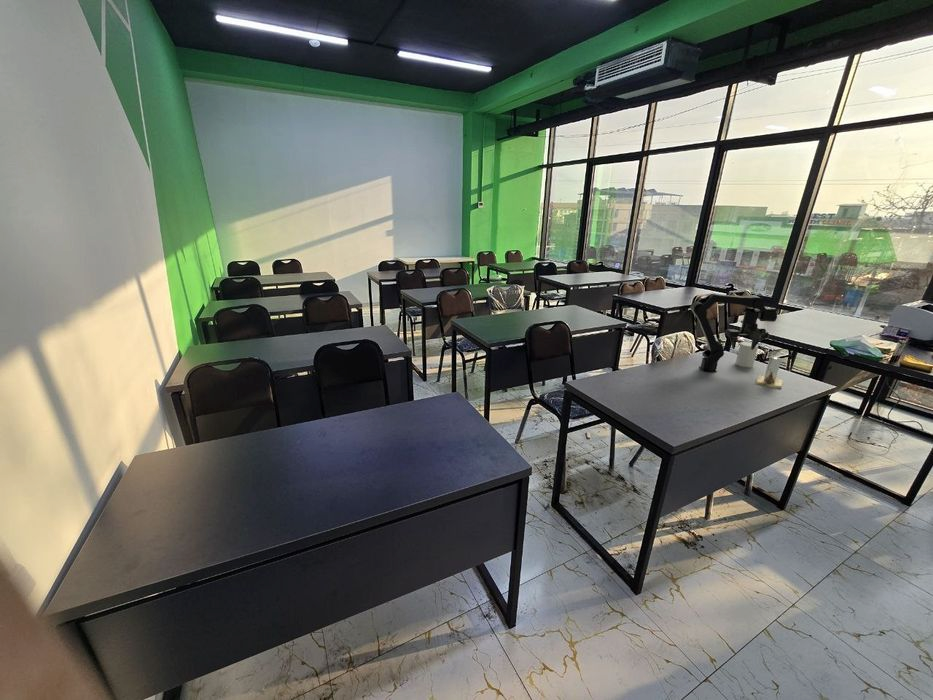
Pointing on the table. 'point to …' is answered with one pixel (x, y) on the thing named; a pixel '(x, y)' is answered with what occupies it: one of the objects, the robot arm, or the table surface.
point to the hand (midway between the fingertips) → (742, 349)
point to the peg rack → (769, 382)
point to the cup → (746, 355)
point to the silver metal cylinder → (772, 368)
